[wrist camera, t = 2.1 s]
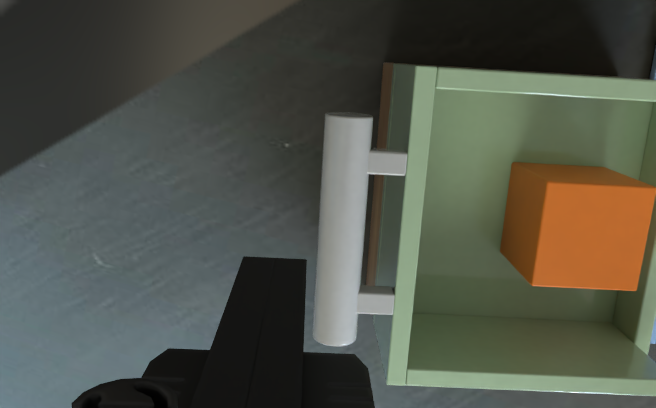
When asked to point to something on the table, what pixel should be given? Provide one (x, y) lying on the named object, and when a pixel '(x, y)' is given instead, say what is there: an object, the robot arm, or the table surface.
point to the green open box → (481, 232)
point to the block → (576, 226)
